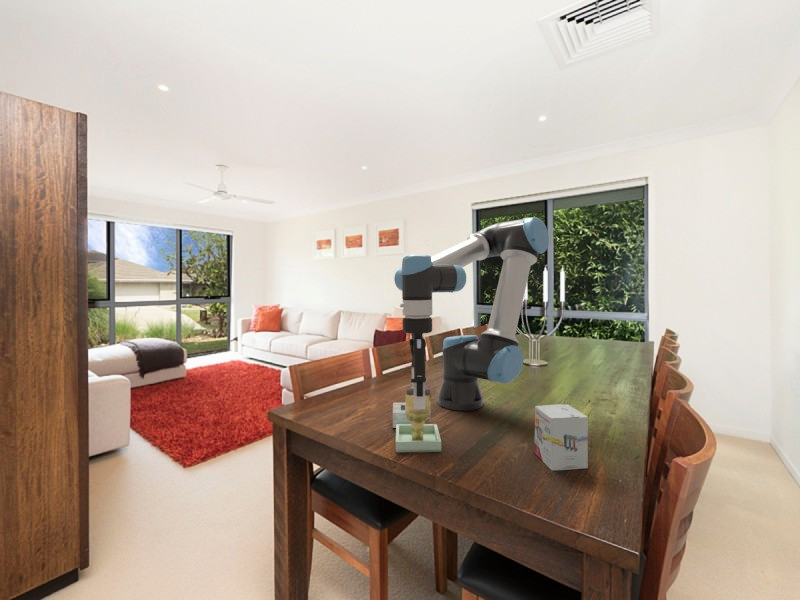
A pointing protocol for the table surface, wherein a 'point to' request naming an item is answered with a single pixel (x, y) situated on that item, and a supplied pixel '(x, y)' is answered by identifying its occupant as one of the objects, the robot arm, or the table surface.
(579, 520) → the table surface
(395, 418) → the silver square block
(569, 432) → the ink box
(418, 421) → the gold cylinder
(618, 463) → the table surface
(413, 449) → the tray
